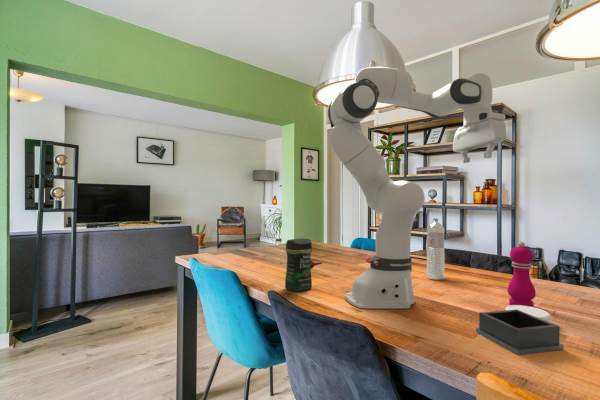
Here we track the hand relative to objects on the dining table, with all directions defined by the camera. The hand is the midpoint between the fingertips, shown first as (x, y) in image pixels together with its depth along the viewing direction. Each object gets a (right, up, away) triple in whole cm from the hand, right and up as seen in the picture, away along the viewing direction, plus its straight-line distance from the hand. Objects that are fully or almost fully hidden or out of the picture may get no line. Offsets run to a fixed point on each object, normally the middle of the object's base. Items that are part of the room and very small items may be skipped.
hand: (476, 160), depth 111 cm
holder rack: (-10, -47, -36) cm, 60 cm away
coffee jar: (-62, -47, +7) cm, 78 cm away
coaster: (0, -47, -25) cm, 54 cm away
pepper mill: (+7, -47, -12) cm, 49 cm away
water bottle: (-5, -47, +22) cm, 52 cm away
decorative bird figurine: (-58, -47, +30) cm, 80 cm away
